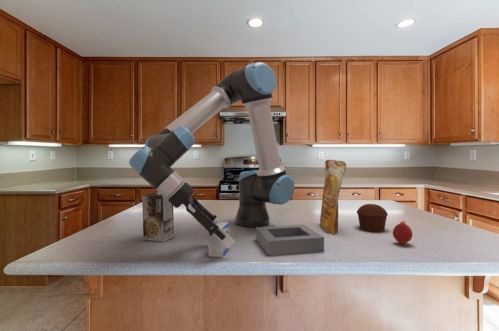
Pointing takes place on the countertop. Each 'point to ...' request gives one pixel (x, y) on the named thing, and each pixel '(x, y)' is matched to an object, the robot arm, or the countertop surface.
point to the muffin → (372, 217)
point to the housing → (289, 240)
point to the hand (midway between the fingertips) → (229, 239)
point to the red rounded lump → (402, 233)
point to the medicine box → (218, 242)
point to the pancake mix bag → (331, 195)
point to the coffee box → (157, 218)
